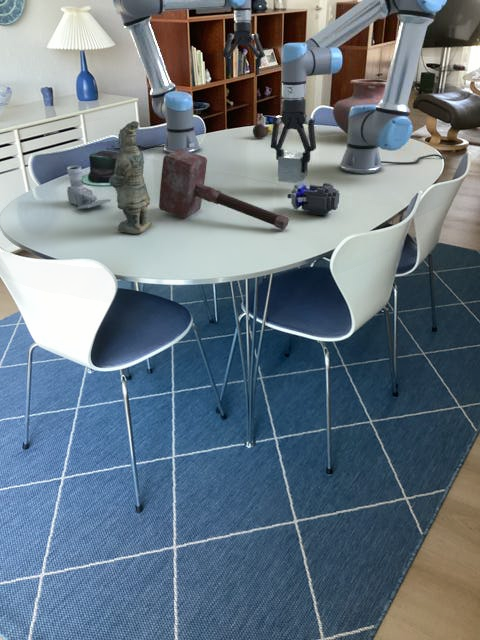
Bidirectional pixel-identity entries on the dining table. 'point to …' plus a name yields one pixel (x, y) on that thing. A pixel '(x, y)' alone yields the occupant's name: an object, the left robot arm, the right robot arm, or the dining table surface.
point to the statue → (131, 182)
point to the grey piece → (80, 190)
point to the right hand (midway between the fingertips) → (292, 170)
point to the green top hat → (101, 168)
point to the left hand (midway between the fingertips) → (243, 74)
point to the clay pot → (359, 99)
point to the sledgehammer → (200, 190)
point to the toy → (315, 198)
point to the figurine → (263, 130)
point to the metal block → (291, 167)
